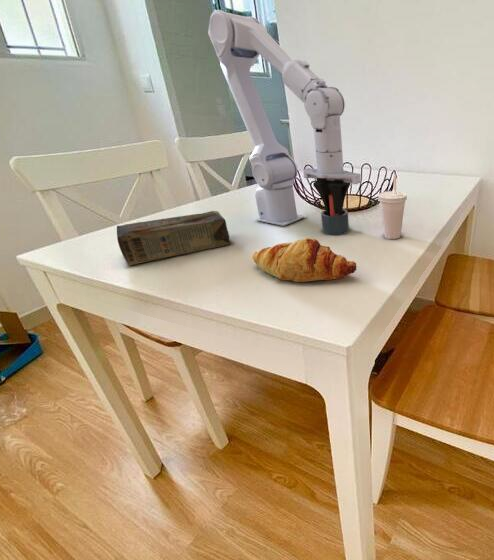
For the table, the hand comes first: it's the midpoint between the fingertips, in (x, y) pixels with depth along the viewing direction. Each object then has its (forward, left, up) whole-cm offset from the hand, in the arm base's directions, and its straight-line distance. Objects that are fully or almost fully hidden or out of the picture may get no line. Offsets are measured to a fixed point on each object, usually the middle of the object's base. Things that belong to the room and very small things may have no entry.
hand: (334, 211), depth 81 cm
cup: (0, 0, -5) cm, 5 cm away
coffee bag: (-22, -25, -5) cm, 34 cm away
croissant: (+8, -21, -5) cm, 23 cm away
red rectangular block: (0, 0, -2) cm, 2 cm away
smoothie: (+14, +3, -5) cm, 15 cm away
